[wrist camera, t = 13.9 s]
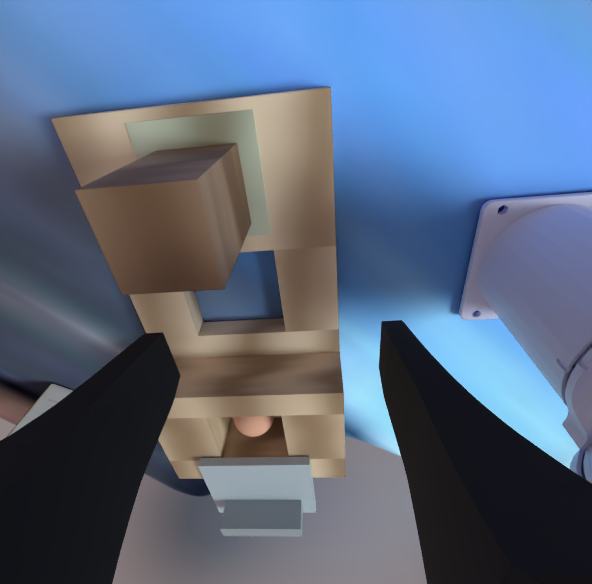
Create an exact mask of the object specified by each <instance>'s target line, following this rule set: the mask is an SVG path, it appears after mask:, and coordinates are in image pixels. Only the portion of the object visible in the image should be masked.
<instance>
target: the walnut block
mask: <svg viewBox="0 0 592 584" xmlns="http://www.w3.org/2000/svg"><path fill="white" fill-rule="evenodd" d="M75 193H76V195H77V197H78V199H79V201H80V203H81V206H82V208H83V210H84V212H85V214H86V217H87V219H88V221H89V223H90V225H91V228H92V230H93V232H94V234H95V236H96V238H97V241H98V243H99V245H100V247H101V249H102V252H103V254H104V256H105V258H106V260H107V262H108V265H109V267H110V269H111V271H112V273H113V276H114V278H115V280H116V282H117V284H118V287H119V289H120V291H121V293H122V295H133V294H151V293H168V292H185V291H202V290H219V289H225V287H226V284H227V282H228V280H229V277H230V275H231V272H232V270H233V267H234V265H235V262H236V260H237V258H238V255H239V253H240V250H241V248H242V245H243V243H244V240H245V238H246V236H247V233H248V231H249V228H250V226H251V218H250V212H249V207H248V201H247V195H246V190H245V184H244V178H243V173H242V167H241V161H240V156H239V150H238V145H237V143H231V144H221V145H210V146H200V147H190V148H179V149H169V150H159V151H154V152H152V153H150V154H148V155H146V156H144V157H142V158H140V159H138V160H136V161H134V162H132V163H130V164H128V165H126V166H124V167H122V168H119V169H117V170H115V171H113V172H111V173H109V174H107V175H105V176H103V177H101V178H99V179H97V180H95V181H93V182H91V183H89V184H87V185H85V186H83V187H81V188H79V189H76V190H75Z"/></svg>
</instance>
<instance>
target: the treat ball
mask: <svg viewBox="0 0 592 584" xmlns="http://www.w3.org/2000/svg"><path fill="white" fill-rule="evenodd" d="M233 419H234V423H235V426H236V428H237V429H238V430H239V431H240V432H241V433H242V434H244V435H246V436H250V437H256V436H260V435H262V434H264V433H265V432H266V431H267V430H268V429H269V428H270V427H271V425H272V423H273V420H274V416H250V417H233Z"/></svg>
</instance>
